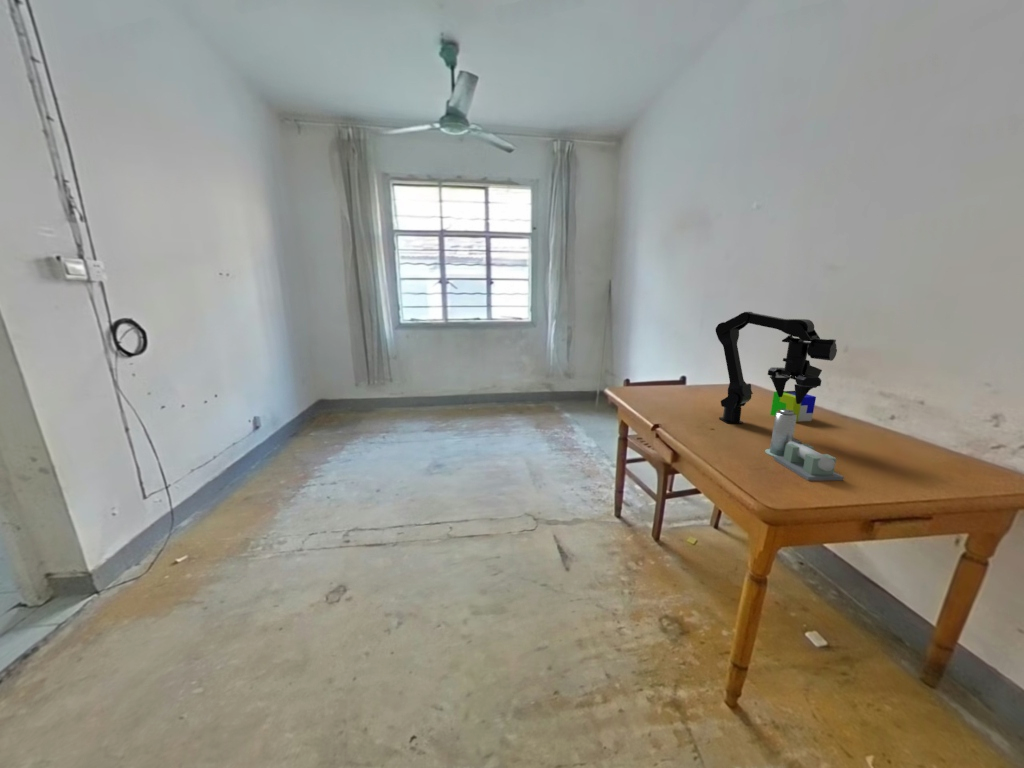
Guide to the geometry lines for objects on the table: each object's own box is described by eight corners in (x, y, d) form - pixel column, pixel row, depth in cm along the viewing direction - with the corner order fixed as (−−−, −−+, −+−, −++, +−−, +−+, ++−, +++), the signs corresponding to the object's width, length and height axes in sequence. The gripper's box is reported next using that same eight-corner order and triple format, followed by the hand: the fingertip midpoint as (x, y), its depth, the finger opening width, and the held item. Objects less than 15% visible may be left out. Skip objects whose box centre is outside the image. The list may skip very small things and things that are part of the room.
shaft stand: (773, 459, 126) (777, 438, 124) (805, 459, 126) (809, 438, 124) (807, 480, 112) (812, 456, 110) (843, 480, 112) (848, 456, 111)
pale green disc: (759, 449, 134) (759, 448, 134) (783, 449, 134) (783, 448, 134) (775, 459, 126) (775, 458, 126) (801, 458, 127) (801, 458, 126)
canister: (768, 448, 134) (775, 407, 131) (788, 451, 132) (796, 409, 128) (770, 454, 129) (777, 411, 126) (791, 457, 127) (798, 414, 124)
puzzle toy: (811, 420, 165) (816, 396, 163) (790, 422, 163) (795, 397, 160) (790, 413, 174) (794, 390, 172) (770, 414, 172) (774, 391, 170)
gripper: (841, 361, 132) (832, 407, 136) (799, 352, 150) (792, 393, 154) (807, 361, 132) (799, 407, 135) (770, 352, 150) (763, 393, 153)
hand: (789, 400), depth 144 cm, fingers open, 9 cm apart
